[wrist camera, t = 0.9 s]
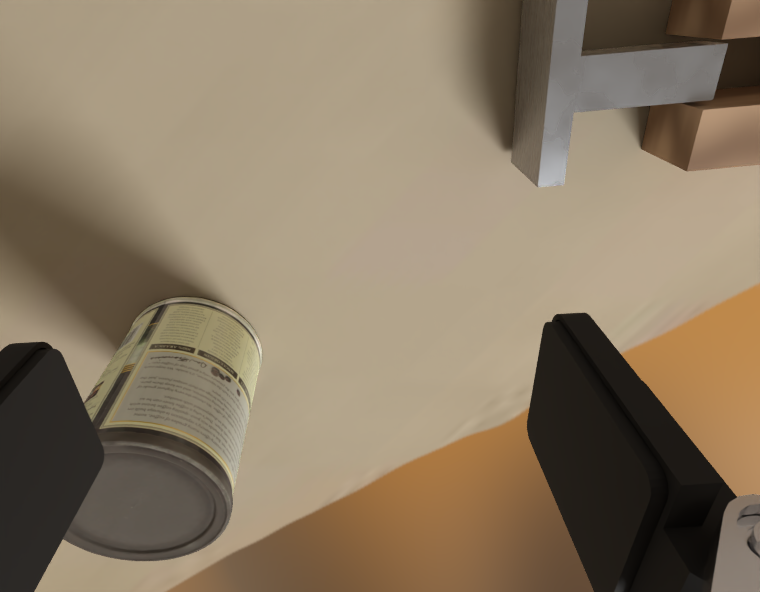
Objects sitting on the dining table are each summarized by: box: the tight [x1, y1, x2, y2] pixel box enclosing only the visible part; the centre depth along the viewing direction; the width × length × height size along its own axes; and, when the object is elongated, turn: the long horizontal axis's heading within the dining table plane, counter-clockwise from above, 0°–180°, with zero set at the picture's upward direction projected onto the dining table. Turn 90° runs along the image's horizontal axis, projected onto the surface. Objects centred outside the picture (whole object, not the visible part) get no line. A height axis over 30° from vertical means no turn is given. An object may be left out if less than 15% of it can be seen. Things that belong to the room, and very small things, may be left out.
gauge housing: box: [641, 0, 760, 171], centre depth 27 cm, size 13×20×6 cm, turn 94°
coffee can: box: [63, 297, 262, 561], centre depth 32 cm, size 10×10×14 cm
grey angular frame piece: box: [511, 0, 728, 187], centre depth 26 cm, size 12×10×5 cm
